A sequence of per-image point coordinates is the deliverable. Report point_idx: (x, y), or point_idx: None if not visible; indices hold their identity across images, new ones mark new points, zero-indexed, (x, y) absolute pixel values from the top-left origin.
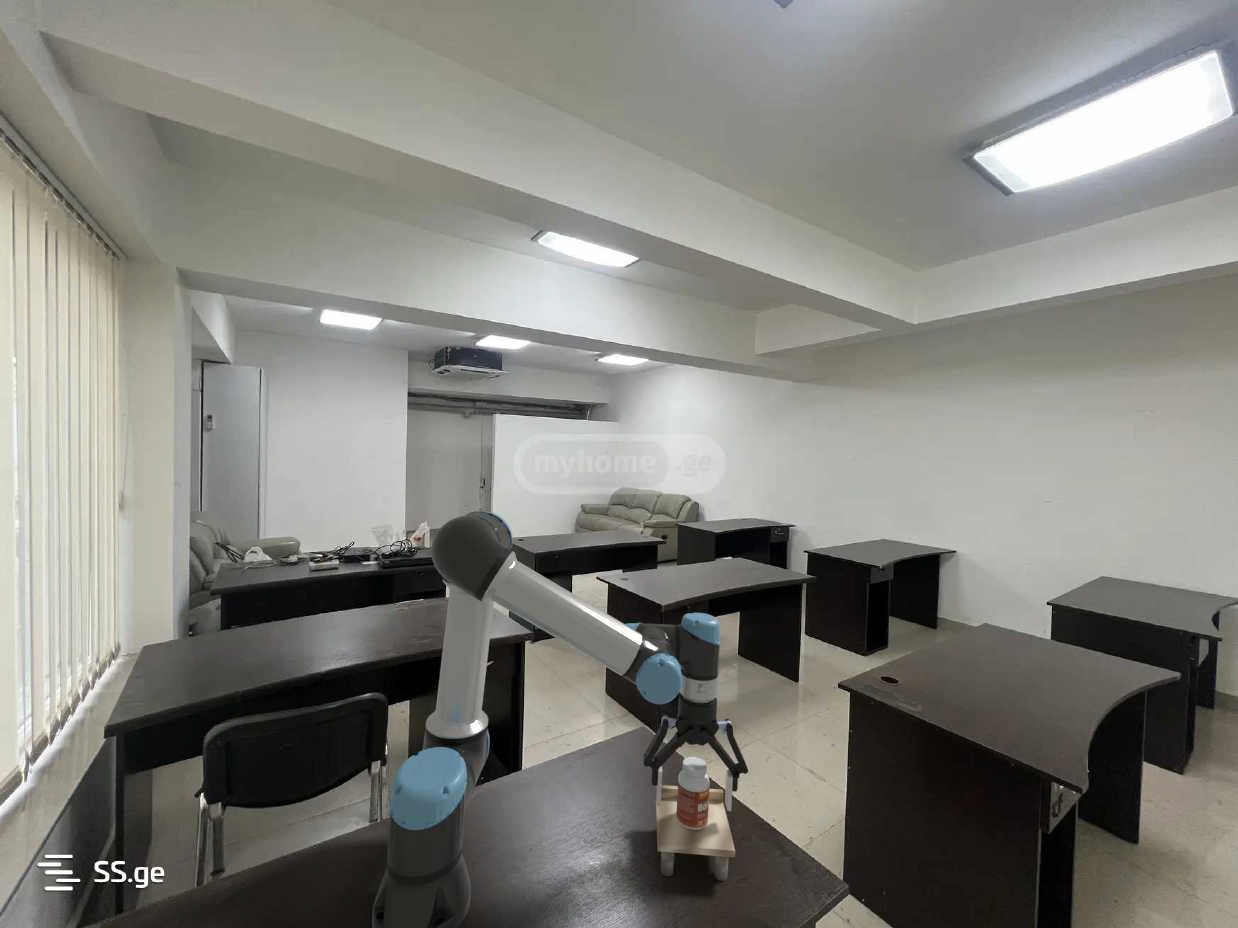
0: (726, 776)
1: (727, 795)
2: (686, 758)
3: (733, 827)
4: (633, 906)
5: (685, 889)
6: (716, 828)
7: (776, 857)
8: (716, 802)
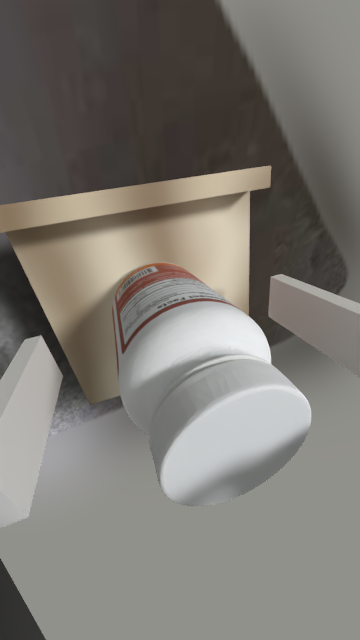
0: (350, 321)
1: (298, 328)
2: (184, 437)
3: (237, 165)
4: (73, 411)
5: None
6: None
7: (297, 239)
8: (229, 196)
